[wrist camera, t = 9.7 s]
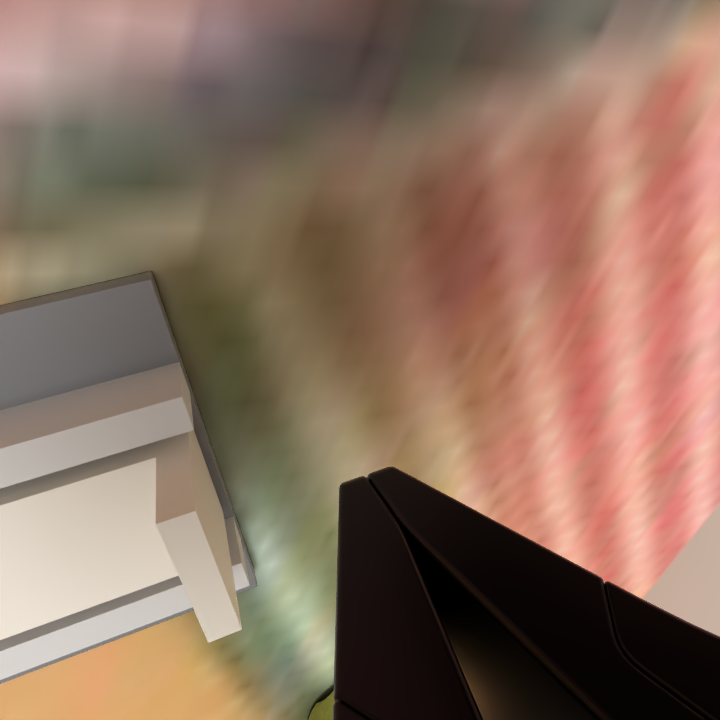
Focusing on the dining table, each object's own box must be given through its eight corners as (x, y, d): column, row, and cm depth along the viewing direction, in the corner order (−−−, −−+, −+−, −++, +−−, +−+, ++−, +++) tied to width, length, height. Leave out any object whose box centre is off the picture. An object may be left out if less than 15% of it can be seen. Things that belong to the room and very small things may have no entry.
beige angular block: (186, 408, 18) (195, 510, 13) (222, 511, 20) (241, 629, 16) (-75, 485, 16) (-168, 633, 12) (-3, 588, 18) (-57, 747, 14)
